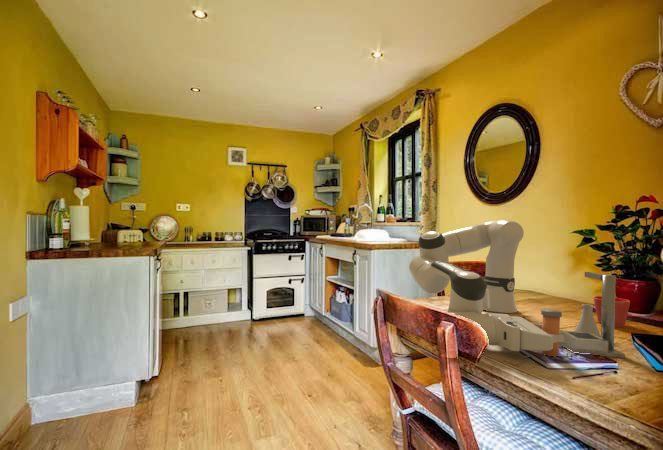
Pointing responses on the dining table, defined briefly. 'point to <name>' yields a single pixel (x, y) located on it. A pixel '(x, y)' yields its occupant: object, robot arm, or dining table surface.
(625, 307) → the flower pot
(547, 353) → the orange capped jar
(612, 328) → the grey post stand
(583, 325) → the flask
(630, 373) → the dining table surface
